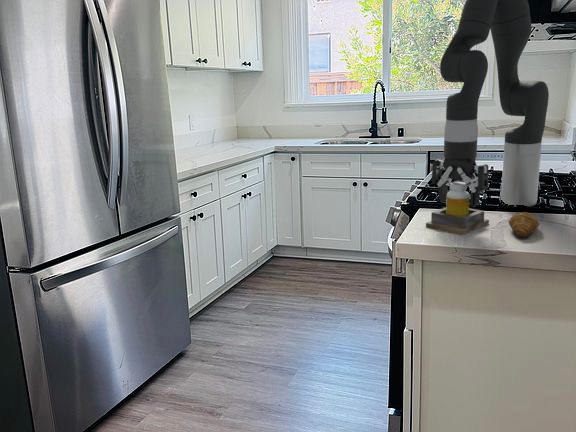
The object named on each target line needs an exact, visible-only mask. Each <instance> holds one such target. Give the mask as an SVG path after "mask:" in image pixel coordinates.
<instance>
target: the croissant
mask: <svg viewBox="0 0 576 432" xmlns="http://www.w3.org/2000/svg"><path fill="white" fill-rule="evenodd" d="M508 225H509V226H510V228H511V230H512V232H513V234H514V235H515V236H516V237H517V238H519V239H522V240H523V239H528V238H529V237H531V236H532V235H533V233H534V232H535V231H536V229H538V227H539V226H540V223H539V221H538V218H537V217H536V216H535V215H534V214H531V213H528V212H526V211H523V212H519V213H514V214H512V215H511V217H510V219H509V220H508Z"/></svg>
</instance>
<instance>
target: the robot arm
mask: <svg viewBox="0 0 576 432" xmlns="http://www.w3.org/2000/svg"><path fill="white" fill-rule="evenodd" d="M460 15H461V16H460V19H459V23H458V26H457V29H456V31H455V33H454V34H453V37H452V38H451V40H450V42H449V44H448V46H447V47H446V49H445V51H444V53H443V54H442V58H441V60H440V63H439V72H440V75H441V78H442V80H444V81H445V82H448V83H463V85H462V88H461V89H460V91H459V92H455V93H452V94H450V95H449V96H448V97H447V99H446V103H445V104H446V107H445V108H446V109H445V111H446V113H445V124H444V131H443V132H444V136H443V139H444V141H443V158H444V160H443V159H442V158H437V159H434V160H433V161H432V168H431V170H432V171H431V183H432V184H435V185H437V187H438V194H437V195H438V199H439V202H442V203H443V202H446V197H447V193H448V183H450V181H453V180H454V181H455V180H457V181H458V182H465V184H466V185H467V187H468V188H469V190H470V191H471V192H470V193H469V208H476V207H477V206H478V205H480V197H481V192H482V191H485V190H488V189H489V165H488V164H482V165H481V164H477V162H476V158H477V155H478V130H479V127H478V126H479V125H478V107H479V106H478V105H479V100H480V97H481V94H482V93H481V92H482V90H483V86H484V83H485V80H486V77H487V74H488V70H489V62H488V61H489V60H488V58H487V55H486V54H485V53H484V52H483V51H482V50H479V49H472V48H473V47H474V46H477V45H480V44H483V43H484V42H486V41H487V39H488V37H489V34H490V33H491V34H490V35H491V39H492V44H493V48H494V55H495V61H496V68H497V78H498V83H497V84H498V94H499V95H498V96H499V101H500V102H499V103H500V108H501V110H502V112H503V113H504V114H505V115H508V116H511V117H512V116H513V117H524V120H523V123H522V124H521V125H519V126H518V127H515V128H511V129H509V130H507V131H506V132H505V133H504V143H503V144H504V145H503V146H504V147H503V160H502V161H503V162H502V176H501V177H502V178H501V180H502V181H501V189H500V190H501V191H500V201H501V200H502V201H503V202H504V203H505V204H508V205H507V206H509V205H514V206H513V207H517V206H516V205H524V206H527V207H533V206H535V205H537V201H538V195H539V194H538V193H539V183H540V182H539V180H540V167H541V165H540V164H541V154H542V141H543V137H544V136H543V135H544V133H545V132H544V131H545V127H546V121H547V120H546V118H547V112H548V106H549V97H550V96H549V95H550V93H549V87H548V84H547V83H546V82H545V81H543V80H520V78H519V72H518V68H519V67H518V66H519V65H518V64H519V60H520V58H521V55H522V54H523V51H524V50H525V47H526V45H527V44H528V41H529V39H530V37H531V33H532V19H531V11H530V6H529V1H528V0H465V2H464V4H463V7H462V12H461V14H460ZM443 169H444V170H445V172H444V173H443ZM475 173H476V174H477V176H476V174H475ZM505 204H504V205H505Z"/></svg>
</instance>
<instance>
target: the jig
mask: <svg viewBox="0 0 576 432" xmlns="http://www.w3.org/2000/svg"><path fill="white" fill-rule="evenodd" d="M430 218H431V221H428V222H426V223H425V227H426V228H429V229H433V230H437V231H441V232H446V233H448V234H449V233H450V234H454V235H458V236H463V235H466V234H468V233H470V232H473V231H475V230H477V229H480V228H482V227H484V226H486V225H489V222H490V219H485V211H484V210H481V209H476V208H475V209H474V208H472V207H469V214H468V215H467V216H464V217H458V216H453V215H449V214H446V207H444V208H439V209H437V210H434V211H431V217H430Z"/></svg>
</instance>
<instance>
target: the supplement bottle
mask: <svg viewBox="0 0 576 432" xmlns="http://www.w3.org/2000/svg"><path fill="white" fill-rule="evenodd" d="M467 189H468V185H466V184H465V182H464V181H451V182H449V191H447V197H446V201H445V208H446V214H449V215H453V216H458V217H464V216H467V215H468V214H469V208H470V193H469V192H468V191H466V190H467Z"/></svg>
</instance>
